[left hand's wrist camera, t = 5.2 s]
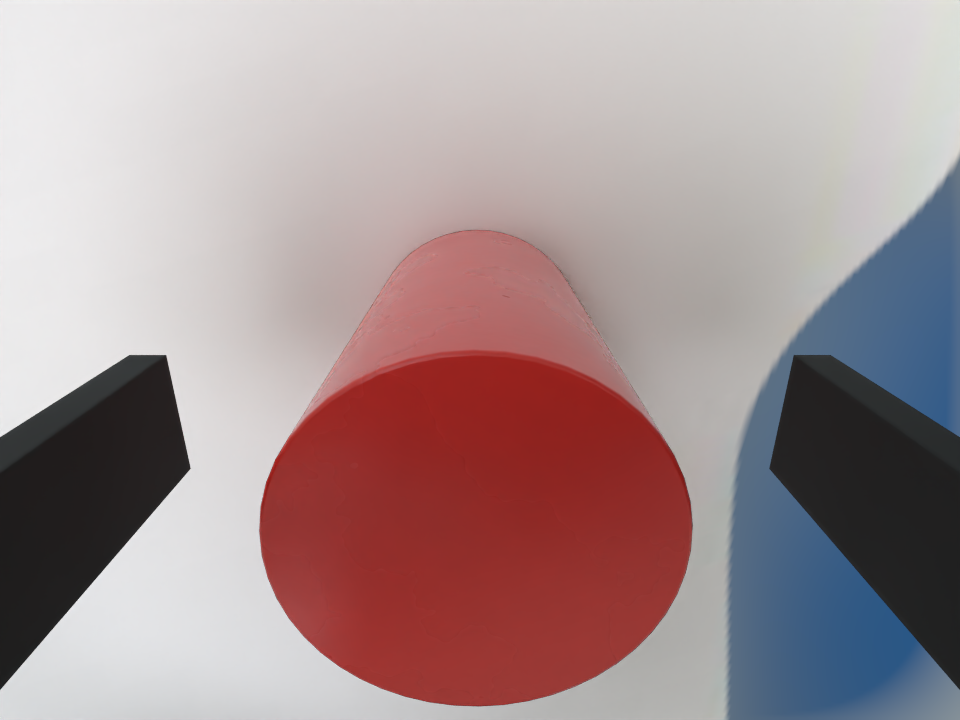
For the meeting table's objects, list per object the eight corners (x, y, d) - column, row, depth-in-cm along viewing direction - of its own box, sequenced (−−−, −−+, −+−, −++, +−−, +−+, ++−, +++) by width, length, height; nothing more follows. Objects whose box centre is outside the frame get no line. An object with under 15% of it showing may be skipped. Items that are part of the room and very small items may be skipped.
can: (454, 184, 16) (421, 250, 7) (620, 313, 18) (787, 517, 8) (336, 351, 18) (181, 588, 9) (495, 456, 19) (512, 760, 10)
